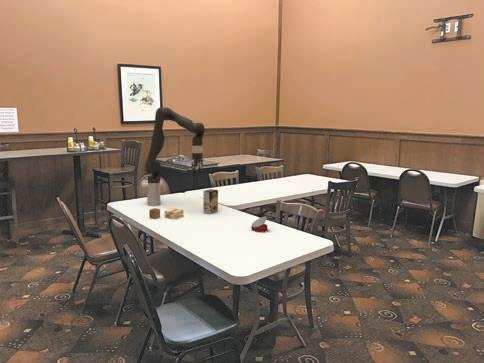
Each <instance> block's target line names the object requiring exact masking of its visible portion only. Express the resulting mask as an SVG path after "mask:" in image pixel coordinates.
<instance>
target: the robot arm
mask: <svg viewBox="0 0 484 363" xmlns="http://www.w3.org/2000/svg"><path fill="white" fill-rule="evenodd" d="M154 115H155V116H154V126H153V132H152V137H151V141H150V146H149V147H150V148H149V151H148V155H147V159H146V162H145V165H144V170H145V172H146V174H148V175H150V177H148V179H147V192H146V203H147V204H146V205H147V206H151V207H155V206H157V207H158V206H161V203H162V202H161V179H162V165H161V163H160V161H158V160H156V159H157V158H158V155H160V153H161V151H162V149H163V148H164V145H165V138H166V137H165V133H164V130H163V126H164V121H170V122H175V123H176V124H177V125H178V126H179V127H181V128H183V129H185V130H187V131H189V132H190V133H191V134H195V136H193V137H192V139H191V141H192V142H191V145H192V146H191V159H192V160H191V165H190V166H191V171H192V176H193V177H197V173H198V175H202V169H203V168H204V160H203V158H204V157H203V156H204V155H203V153H204V148H203V139H204V136H205V129H206V128H205V125H204V124H203V123H201V122H194V121H193V120H192V119H190V118H187V117H186V116H183V115H181V114H179V113H177V112H176V111H174V110H173V109H171V108H169V107H158V108H157V109H156V110H155V114H154Z"/></svg>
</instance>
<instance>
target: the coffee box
mask: <svg viewBox="0 0 484 363" xmlns="http://www.w3.org/2000/svg"><path fill="white" fill-rule="evenodd" d="M202 197H203V200H202V201H203V203H202V204H203V208H202V210H203V214H207V215H211V214H215V213H218V212H219V189H206V190H203V196H202Z"/></svg>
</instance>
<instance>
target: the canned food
mask: <svg viewBox="0 0 484 363" xmlns="http://www.w3.org/2000/svg"><path fill="white" fill-rule="evenodd" d="M266 221H267V216H262V217H259V218H258V219H256V220H254V221H253V222H252V223H251V225H250V226H251V227H250V228H251V231H252V232H254V231H255V232H256V233H265V231H266V232H267V231H268V224H266ZM255 232H254V233H255Z"/></svg>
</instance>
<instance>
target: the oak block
mask: <svg viewBox="0 0 484 363" xmlns="http://www.w3.org/2000/svg"><path fill="white" fill-rule="evenodd" d="M183 217H184V209H178V208H170V209H167V210H164V219H169V220H178V219H181V218H183Z"/></svg>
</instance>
